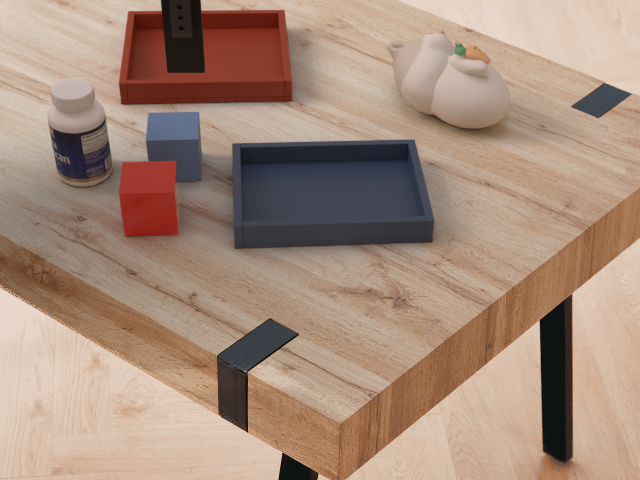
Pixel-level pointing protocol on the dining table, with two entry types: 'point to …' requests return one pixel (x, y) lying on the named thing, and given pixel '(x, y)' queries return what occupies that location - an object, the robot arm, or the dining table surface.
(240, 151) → the blue tray
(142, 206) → the red cube
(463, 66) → the animal figurine with carrot
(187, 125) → the blue cube
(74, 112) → the pill bottle
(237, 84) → the red tray
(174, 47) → the robot arm
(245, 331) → the dining table surface
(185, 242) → the dining table surface
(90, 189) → the dining table surface
